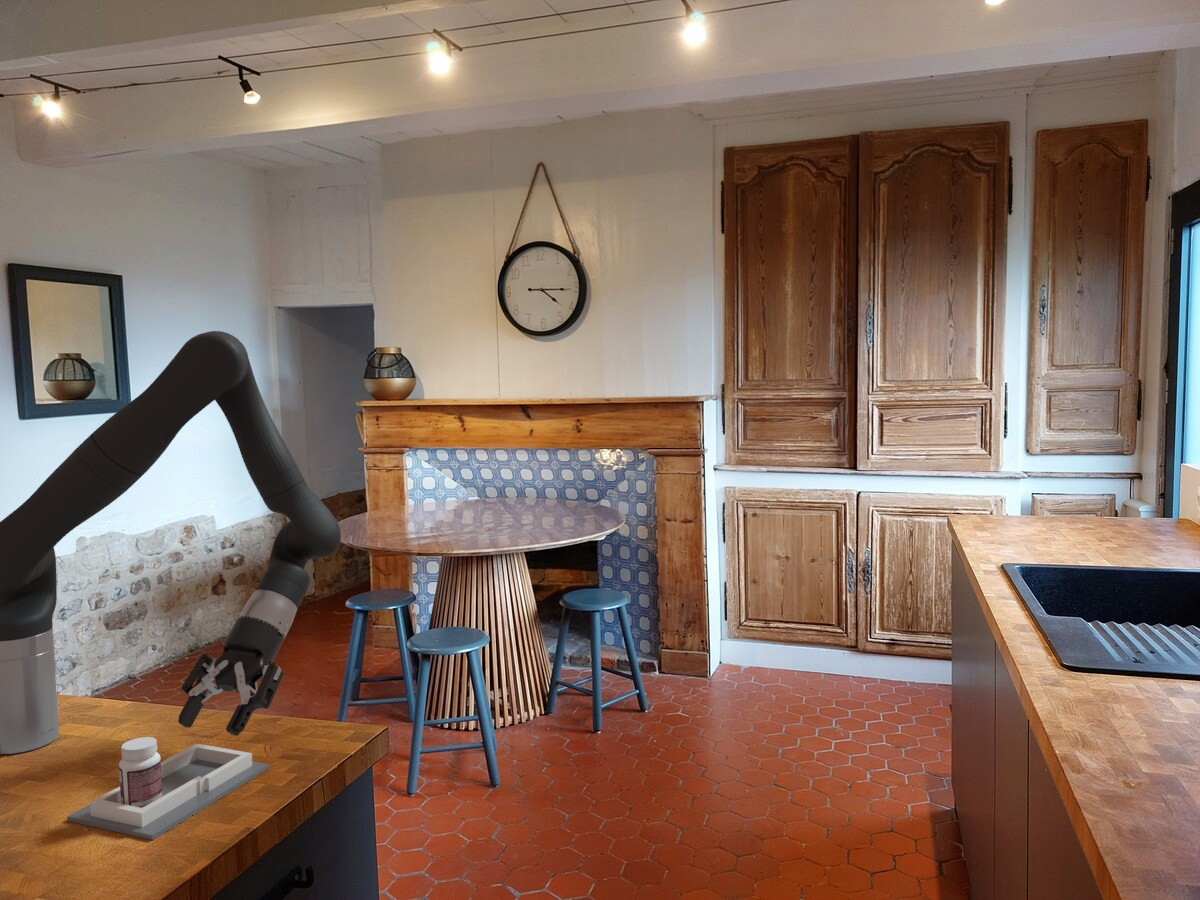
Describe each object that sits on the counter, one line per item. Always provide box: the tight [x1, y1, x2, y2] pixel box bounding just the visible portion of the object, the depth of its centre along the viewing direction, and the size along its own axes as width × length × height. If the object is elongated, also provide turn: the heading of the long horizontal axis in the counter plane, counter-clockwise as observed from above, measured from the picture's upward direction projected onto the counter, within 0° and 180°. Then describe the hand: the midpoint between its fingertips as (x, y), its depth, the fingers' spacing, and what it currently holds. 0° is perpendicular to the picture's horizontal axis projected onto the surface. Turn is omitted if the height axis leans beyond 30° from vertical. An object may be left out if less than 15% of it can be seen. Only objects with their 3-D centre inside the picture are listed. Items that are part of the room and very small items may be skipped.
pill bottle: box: [118, 736, 163, 808], centre depth 109 cm, size 5×5×8 cm
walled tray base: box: [66, 743, 270, 841], centre depth 114 cm, size 14×20×2 cm
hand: (207, 729), depth 119 cm, fingers open, 8 cm apart
